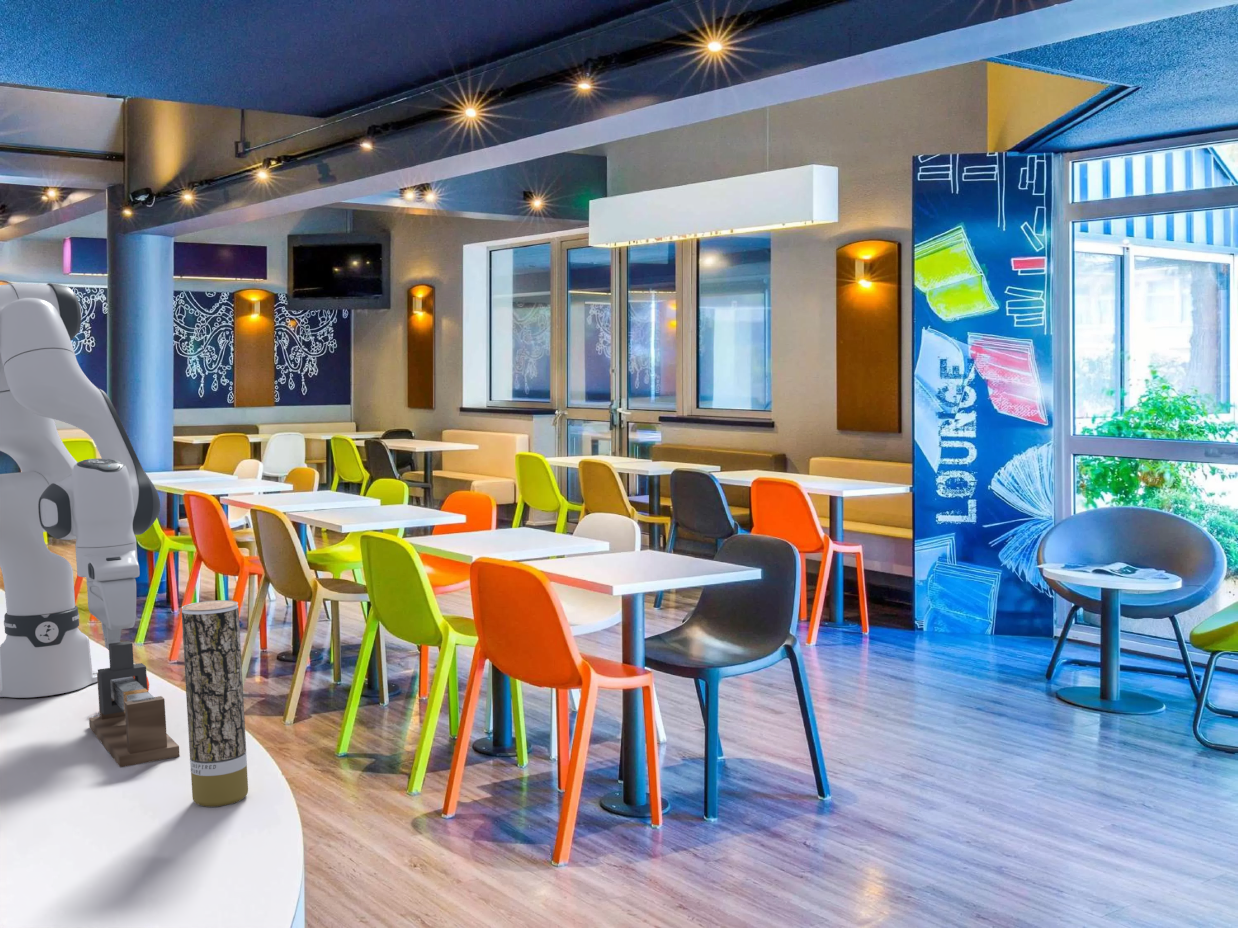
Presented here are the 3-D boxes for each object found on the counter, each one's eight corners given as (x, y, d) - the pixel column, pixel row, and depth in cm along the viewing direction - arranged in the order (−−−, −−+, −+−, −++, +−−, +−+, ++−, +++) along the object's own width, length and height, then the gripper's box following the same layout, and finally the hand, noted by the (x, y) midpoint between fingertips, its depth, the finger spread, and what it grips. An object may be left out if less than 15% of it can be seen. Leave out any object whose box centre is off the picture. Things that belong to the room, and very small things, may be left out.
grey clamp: (100, 710, 184) (96, 644, 183) (144, 703, 187) (140, 638, 186) (103, 714, 181) (99, 648, 181) (148, 707, 185) (144, 642, 184)
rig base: (89, 727, 189) (86, 673, 188) (143, 718, 193) (140, 665, 192) (120, 767, 168) (116, 707, 167) (179, 756, 172) (176, 697, 171)
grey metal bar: (105, 692, 188) (104, 672, 188) (126, 689, 190) (125, 669, 190) (134, 723, 170) (132, 701, 170) (157, 719, 171) (155, 698, 171)
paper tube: (231, 809, 149) (220, 610, 147) (181, 807, 150) (170, 610, 149) (258, 791, 156) (248, 600, 154) (210, 789, 157) (200, 600, 155)
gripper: (75, 558, 196) (80, 641, 196) (96, 571, 178) (102, 663, 179) (116, 553, 199) (121, 636, 200) (141, 566, 182) (147, 657, 183)
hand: (113, 649), depth 189 cm, fingers closed
